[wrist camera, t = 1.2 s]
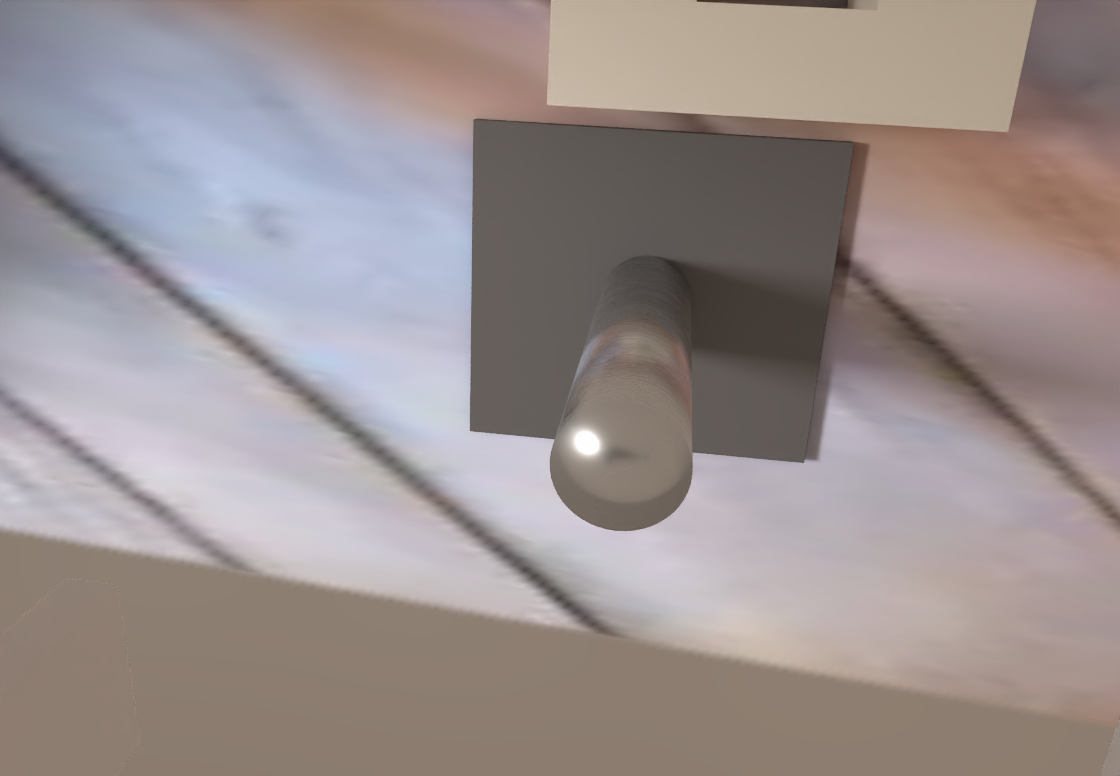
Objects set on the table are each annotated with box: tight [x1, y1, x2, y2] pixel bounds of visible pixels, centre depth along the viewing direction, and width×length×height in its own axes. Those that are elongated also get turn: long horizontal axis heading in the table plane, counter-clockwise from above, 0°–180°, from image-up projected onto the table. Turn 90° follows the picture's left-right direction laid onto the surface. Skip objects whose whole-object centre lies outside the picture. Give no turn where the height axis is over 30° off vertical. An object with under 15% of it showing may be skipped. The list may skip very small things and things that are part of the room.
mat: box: [470, 119, 854, 463], centre depth 32 cm, size 12×11×1 cm
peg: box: [550, 255, 693, 531], centre depth 26 cm, size 3×3×13 cm
